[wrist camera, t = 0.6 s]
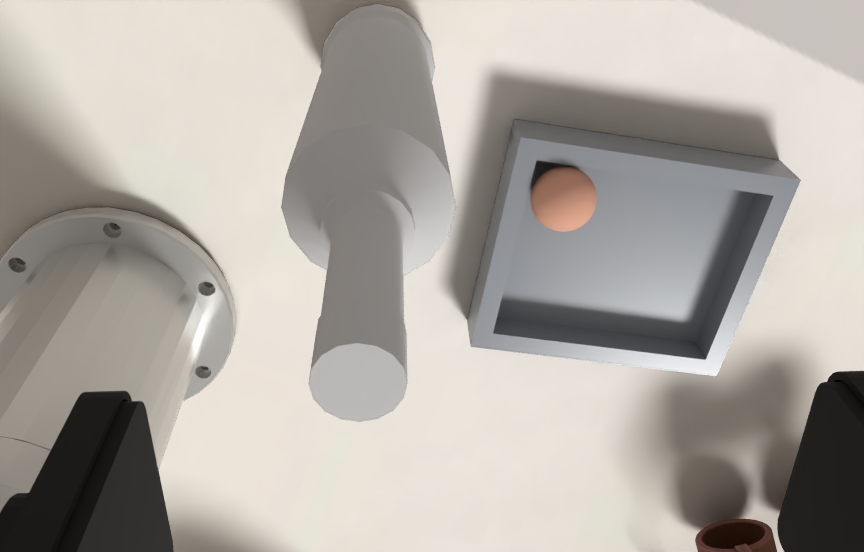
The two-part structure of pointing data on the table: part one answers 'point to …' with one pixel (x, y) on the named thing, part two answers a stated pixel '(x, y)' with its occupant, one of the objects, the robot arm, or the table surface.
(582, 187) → the ball
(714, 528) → the binoculars
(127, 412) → the robot arm
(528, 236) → the tray
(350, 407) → the bottle
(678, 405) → the table surface
